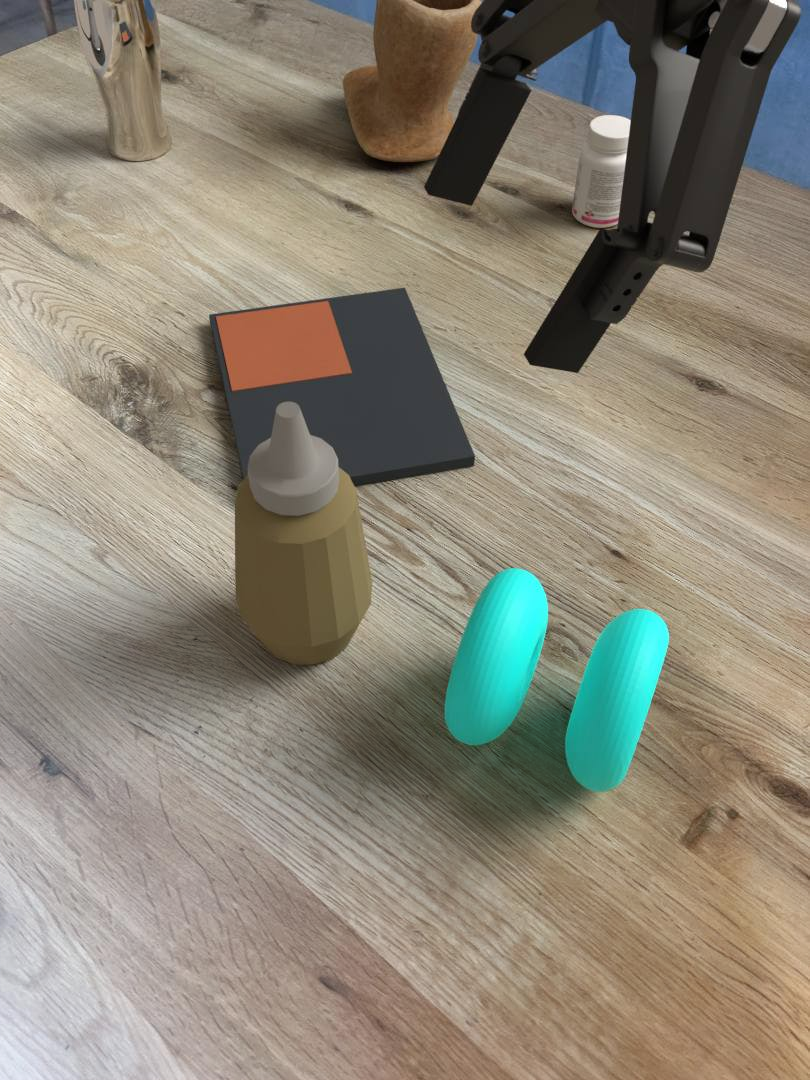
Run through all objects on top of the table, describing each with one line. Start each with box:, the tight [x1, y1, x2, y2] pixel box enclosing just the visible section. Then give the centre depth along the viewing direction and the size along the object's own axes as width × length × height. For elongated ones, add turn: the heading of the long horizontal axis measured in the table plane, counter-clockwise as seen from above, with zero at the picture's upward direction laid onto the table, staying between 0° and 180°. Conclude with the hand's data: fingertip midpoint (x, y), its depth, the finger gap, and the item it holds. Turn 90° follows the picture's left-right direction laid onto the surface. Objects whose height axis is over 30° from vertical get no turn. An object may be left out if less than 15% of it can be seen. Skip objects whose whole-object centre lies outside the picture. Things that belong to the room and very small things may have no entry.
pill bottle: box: [571, 114, 631, 229], centre depth 92 cm, size 5×5×8 cm
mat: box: [208, 287, 476, 487], centre depth 79 cm, size 20×16×1 cm
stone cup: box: [342, 0, 483, 163], centre depth 98 cm, size 15×12×15 cm
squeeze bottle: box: [234, 402, 373, 666], centre depth 58 cm, size 8×8×18 cm
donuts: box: [444, 567, 670, 793], centre depth 57 cm, size 10×10×10 cm
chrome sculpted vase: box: [73, 0, 173, 162], centre depth 96 cm, size 7×7×15 cm
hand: (494, 274), depth 51 cm, fingers open, 13 cm apart
